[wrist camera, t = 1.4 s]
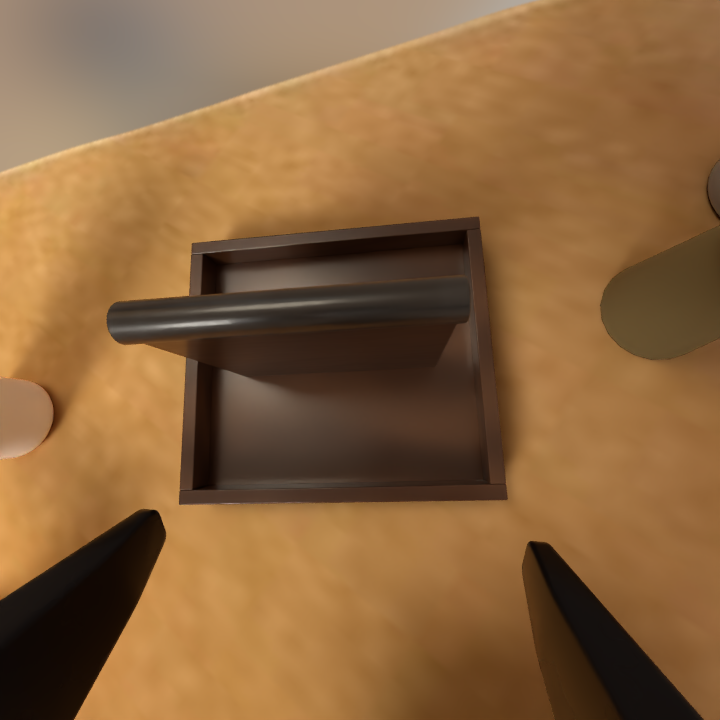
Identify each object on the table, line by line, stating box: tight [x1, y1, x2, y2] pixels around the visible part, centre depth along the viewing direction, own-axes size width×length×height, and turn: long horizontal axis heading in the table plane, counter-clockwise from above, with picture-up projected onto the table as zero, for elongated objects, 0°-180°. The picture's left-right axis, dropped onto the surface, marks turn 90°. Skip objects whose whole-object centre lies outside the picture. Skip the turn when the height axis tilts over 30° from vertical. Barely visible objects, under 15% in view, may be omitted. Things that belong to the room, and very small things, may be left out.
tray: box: [107, 217, 508, 505], centre depth 18 cm, size 16×18×12 cm
